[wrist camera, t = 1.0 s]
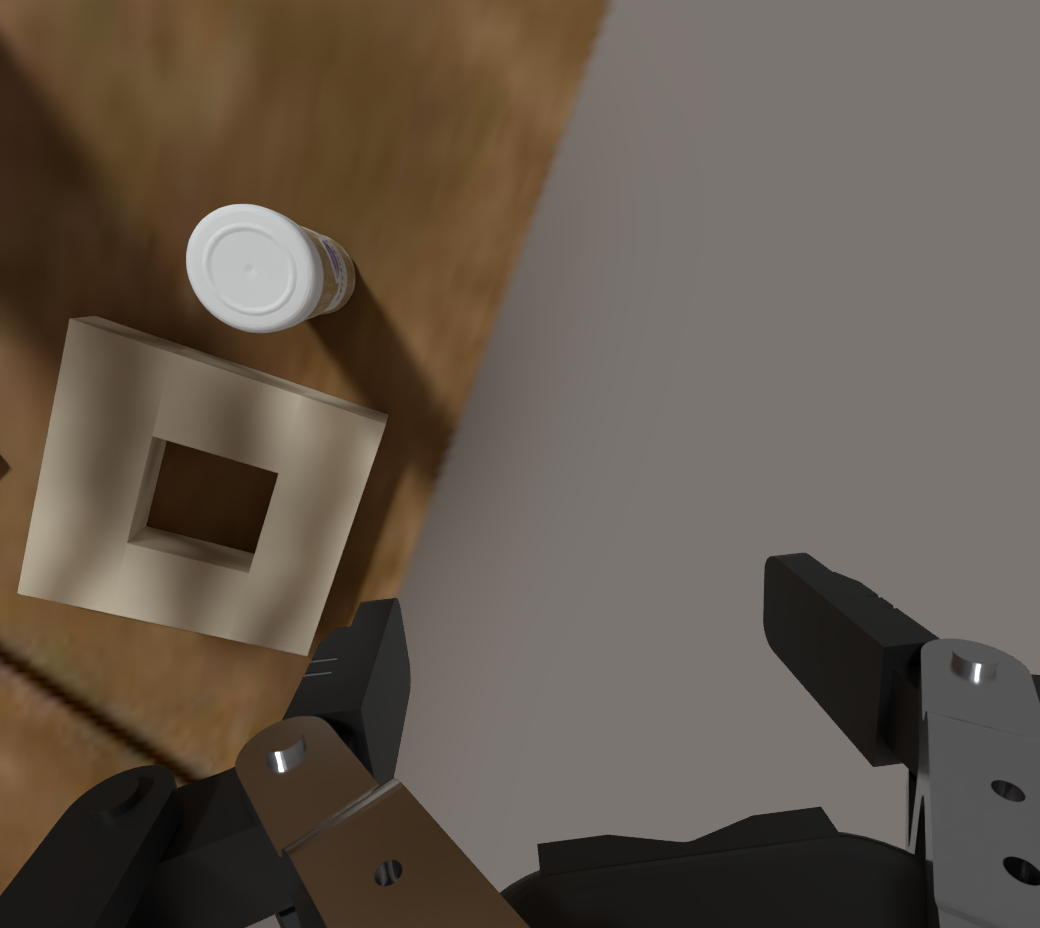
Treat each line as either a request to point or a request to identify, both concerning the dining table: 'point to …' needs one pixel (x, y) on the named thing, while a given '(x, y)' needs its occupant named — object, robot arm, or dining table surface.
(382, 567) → the dining table surface
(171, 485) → the dining table surface
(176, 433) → the slotted board
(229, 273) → the sprinkles bottle
